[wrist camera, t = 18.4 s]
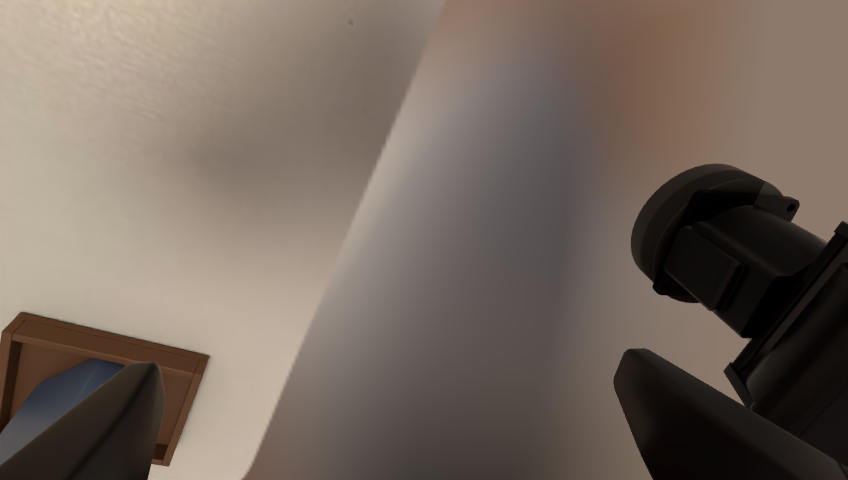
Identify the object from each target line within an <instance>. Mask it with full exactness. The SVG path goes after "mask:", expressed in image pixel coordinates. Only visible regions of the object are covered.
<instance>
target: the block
mask: <svg viewBox="0 0 848 480" xmlns="http://www.w3.org/2000/svg"><path fill="white" fill-rule="evenodd" d="M123 368H124V366H123V365H122V364H119V363H115V362H110V361H105V360H101V359H96V358H91V359H89V360H87V361H85V362H83V363H81V364H79V365H77V366H75V367H73V368H70V369H68V370H66V371H64V372H62V373H60V374H58V375H56V376H54V377H52V378H50V379H47V380H45V381H43V382H41V383H39V384H38V385H37V386H36V387H35V389H34V390H33V391H32V393H31V394H30V395H29V397H28V398H27V399H26V401H25V402H24V403H23V405H22V406H21V407H20V409H19V410H18V411H17V413H16V414H15V415H14V417H13V418H12V419H11V420H10V422H9V423H8V424H7V426H6V427H5V428H4V430H3V431H2V432H1V434H0V465H1V464H2V463H3V462H5V461H6V460H7V459H8V458H10V457H11V456H12V455H14V454H15V453H16V452H17V451H19V450H20V449H21V448H22V447H24V446H25V445H26V444H28V443H29V442H30V441H31V440H33V439H34V438H35V437H36V436H38V435H39V434H40V433H41V432H43V431H44V430H45V429H47V428H48V427H49V426H50V425H52V424H53V423H54V422H55V421H57V420H58V419H59V418H61V417H62V416H63V415H64V414H66V413H67V412H68V411H69V410H71V409H72V408H73V407H74V406H76V405H77V404H78V403H80V402H81V401H82V400H83V399H85V398H86V397H87V396H88V395H90V394H91V393H92V392H94V391H95V390H96V389H97V388H99V387H100V386H101V385H102V384H104V383H105V382H106V381H107V380H109V379H110V378H111V377H113V376H114V375H115V374H116V373H118V372H119V371H120V370H121V369H123Z"/></svg>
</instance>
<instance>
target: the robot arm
mask: <svg viewBox="0 0 848 480" xmlns="http://www.w3.org/2000/svg"><path fill="white" fill-rule="evenodd" d="M703 197H704V198H703ZM701 198H703V199H702V201H700V200H701ZM798 208H799V201H798V200H796V199H794V198H791V197H786V196H775V195H764V194H753V193H742V192H731V191H719V190H708V189H699V190H697V191H696V192H695V193H693V195H692V196H691V198H690V201H689V203H688V205H687V207H686V210H685V212H684V214H683V216H682V219H681V221H680V223H679V226H678V228H677V230H676V232H675V235H674V237H673V239H672V242H671V244H670V246H669V248H668V251H667V253H666V255H665V258H664V260H663V262H662V264H661V267H660V269H659V271H658V273H657V276H656V278H655V280H654V283H653V286H652V287H653V290H654V291H655V292H656V293H658V294H659V295H667V296H693V297H695V298H696V299H697V300H698V301H699V302H700V303H701V304H702V305H704V306H705V307H706V308H707V309H708V310H709V311H712V312H714V313H715V314H716V315H717V316H718V317H719V318H720V319H721V320H722V321H724V322H725V323H726V324H727V325H728V326H729V327H730V328H731V329H733V330H734V331H735V332H736V333H737V334H738V335H739V336H740V337H742V338H747V339H748V340H749V343H748V344H747V345H746V347H745V348H744V349H743V350H742V352H741V353H740V354H739V356H738V357H737V358H736V359H735V360H734V362H733V363H729V365H728V366H727V367H726V368H725V370H724V373H725V375H726V376H727V378H728V380H729V381H730V383H731V384H732V386H733V387H734V389H735V391H736V392H737V394H738V395H739V397H740V399H741V400H742V402H743V403H744V405H745V406H743V405H741V404H740V403H738V402H736V401H735V400H733V399H731V398H730V397H728V396H726V395H724V394H723V393H721V392H719V391H717V390H716V389H714V388H713V387H711V386H709V385H708V384H706V383H704V382H702V381H701V380H699V379H697V378H695V377H694V376H692V375H691V374H689V373H687V372H685V371H684V370H682V369H680V368H679V367H677V366H675V365H674V364H672V363H670V362H669V361H667V360H665V359H663V358H662V357H660V356H658V355H657V354H655V353H653V352H652V351H650V350H647V349H643V348H642V349H628V350H627V351H626V352H625V353H624V354H623V357H622V359H621V361H620V364H619V366H618V369H617V371H616V374H615V376H614V388H615V391H616V394H617V396H618V398H619V401H620V404H621V406H622V409H623V412H624V414H625V417H626V419H627V422H628V424H629V427H630V429H631V432H632V434H633V436H634V439H635V442H636V444H637V447H638V449H639V451H640V454H641V456H642V458H643V460H644V462H645V465H646V467H647V469H648V471H649V473H650V475H651V477H652V478H653V480H848V223H847V222H844V221H842V222H841V223H840V224H839V226H838V227H837V228H836V230H835V231H834V232H835V235H834V236H833V237H832V238H831V240H830V241H829V242H827V241H825V240H823V239H821V238H819V237H818V236H816V235H814V234H812V233H810V232H808V231H806V230H804V229H803V228H801V227H799V226H797V225H795V224H794V223H792V222H791V221H792V219H793V217H794V215H795V214H796V212H797V210H798ZM663 285H664V286H663ZM662 286H663V287H662ZM165 401H166V399H165V391H164V386H163V381H162V376H161V370H160V367H159V365H158V363H156V362H133V363H130V364H128V365H127V366H125V367H124V368H123V369H121V370H120V371H119V372H118V373H116V374H115V375H114V376H113V377H111V378H110V379H109V380H107V381H106V382H105V383H104V384H102V385H101V386H100V387H99V388H97V389H96V390H95V391H94V392H92V393H91V394H90V395H88V396H87V397H86V398H85V399H83V400H82V401H81V402H80V403H78V404H77V405H76V406H74V407H73V408H72V409H71V410H69V411H68V412H67V413H66V414H64V415H63V416H62V417H61V418H59V419H58V420H57V421H55V422H54V423H53V424H52V425H50V426H49V427H48V428H47V429H45V430H44V431H43V432H41V433H40V434H39V435H38V436H36V437H35V438H34V439H33V440H31V441H30V442H29V443H28V444H26V445H25V446H24V447H22V448H21V449H20V450H19V451H17V452H16V453H15V454H14V455H12V456H11V457H10V458H8V459H7V460H6V461H5V462H3V463H2V464H1V465H0V480H147V479H148V475H149V471H150V467H151V463H152V459H153V455H154V451H155V446H156V442H157V438H158V434H159V430H160V426H161V422H162V418H163V414H164V410H165Z"/></svg>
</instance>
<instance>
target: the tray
mask: <svg viewBox="0 0 848 480" xmlns="http://www.w3.org/2000/svg"><path fill="white" fill-rule="evenodd" d="M91 358H96V359H101V360H105V361H110V362H115V363H119V364H122V365H123V366H124V367H125V366H127V365H128V364H130V363H133V362H156V363H158V365H159V367H160V370H161V376H162V381H163V386H164V391H165V399H166V401H165V410H164V414H163V418H162V422H161V426H160V430H159V434H158V438H157V442H156V446H155V451H154V455H153V459H152V463H151V464H155V465H162V466H169V465H170V462H171V460H172V457H173V454H174V451H175V449H176V446H177V443H178V441H179V438H180V435H181V433H182V430H183V427H184V424H185V422H186V419H187V416H188V414H189V411H190V408H191V406H192V403H193V400H194V397H195V395H196V392H197V389H198V387H199V384H200V381H201V379H202V376H203V373H204V370H205V367H206V365H207V362H208V359H209V356H206V355H202V354H198V353H193V352H189V351H185V350H180V349H176V348H172V347H168V346H163V345H159V344H155V343H150V342H146V341H142V340H138V339H133V338H129V337H125V336H120V335H116V334H112V333H108V332H103V331H99V330H95V329H90V328H86V327H82V326H78V325H73V324H69V323H65V322H60V321H56V320H52V319H48V318H43V317H39V316H35V315H30V314H26V313H22V312H21V313H20V314H19V315H18V316H17V317H16V318H15V319H14V320H13V321H12V322H11V323H10V324H9V325H8V326H7V327H6V328H5V329H4V330H3V331H2V335H1V342H0V434H1V432H2V431H3V430H4V428H5V427H6V426H7V424H8V423H9V422H10V420H11V419H12V418H13V417H14V415H15V414H16V413H17V411H18V410H19V409H20V407H21V406H22V405H23V403H24V402H25V401H26V399H27V398H28V397H29V395H30V394H31V393H32V391H33V390H34V389H35V387H36V386H37V385H38V384H39V383H41V382H43V381H45V380H47V379H50V378H52V377H54V376H56V375H58V374H60V373H62V372H64V371H66V370H68V369H70V368H73V367H75V366H77V365H79V364H81V363H83V362H85V361H87V360H89V359H91Z"/></svg>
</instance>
